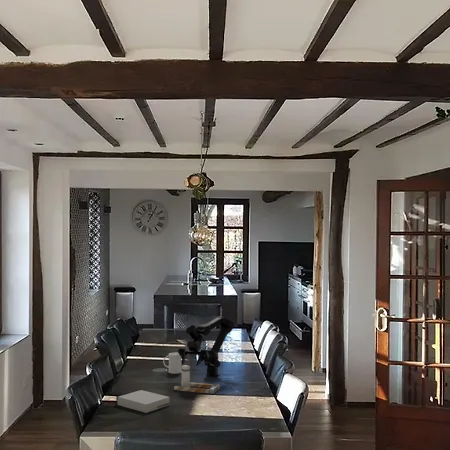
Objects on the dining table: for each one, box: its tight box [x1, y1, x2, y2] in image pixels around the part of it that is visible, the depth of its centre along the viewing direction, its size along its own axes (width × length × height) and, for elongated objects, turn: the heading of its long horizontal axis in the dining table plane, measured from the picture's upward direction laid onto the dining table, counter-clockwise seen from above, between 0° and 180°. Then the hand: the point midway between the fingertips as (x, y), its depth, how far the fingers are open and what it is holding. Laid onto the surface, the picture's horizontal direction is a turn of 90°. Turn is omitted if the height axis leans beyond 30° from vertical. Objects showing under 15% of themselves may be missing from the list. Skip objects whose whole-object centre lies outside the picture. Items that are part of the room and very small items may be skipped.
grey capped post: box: [181, 364, 191, 387], centre depth 346 cm, size 5×5×13 cm
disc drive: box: [115, 388, 170, 414], centre depth 315 cm, size 18×22×5 cm
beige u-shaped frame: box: [173, 381, 221, 394], centre depth 344 cm, size 24×11×2 cm, turn 72°
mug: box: [163, 351, 182, 375], centre depth 385 cm, size 12×8×12 cm
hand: (189, 365), depth 352 cm, fingers open, 9 cm apart
